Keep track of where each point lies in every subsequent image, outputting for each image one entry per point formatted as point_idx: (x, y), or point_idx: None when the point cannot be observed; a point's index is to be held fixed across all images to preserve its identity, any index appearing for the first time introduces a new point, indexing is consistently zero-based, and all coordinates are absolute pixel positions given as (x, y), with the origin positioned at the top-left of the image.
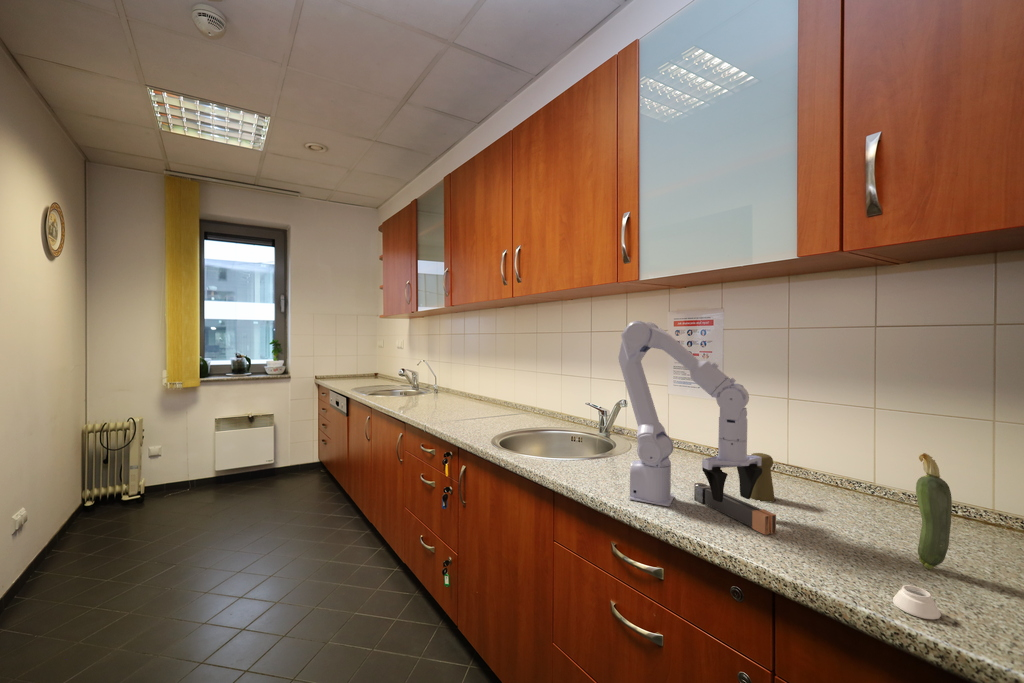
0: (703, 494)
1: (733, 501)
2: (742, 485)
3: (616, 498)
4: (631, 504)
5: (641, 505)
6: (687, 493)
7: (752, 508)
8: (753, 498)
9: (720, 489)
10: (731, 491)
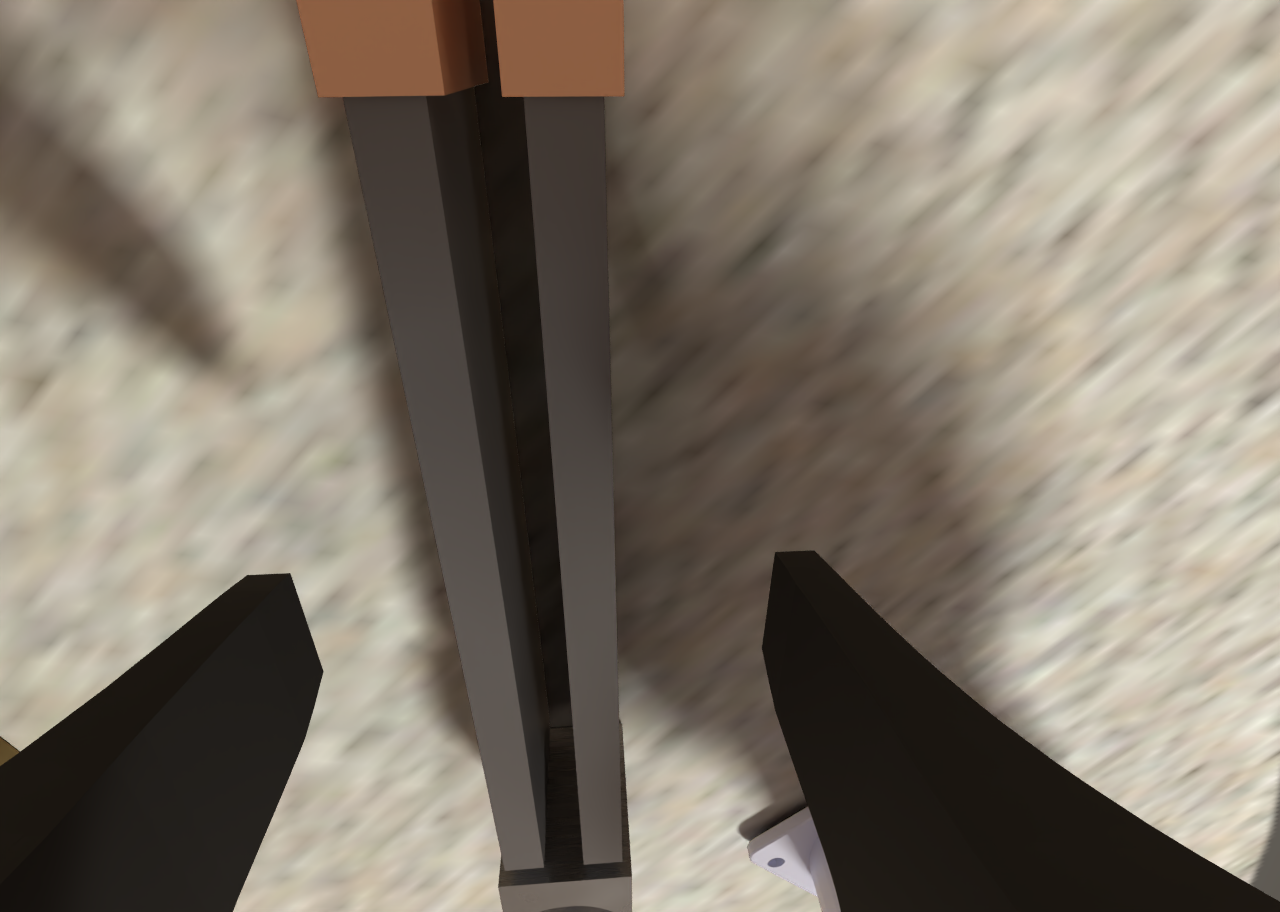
0: None
1: (595, 537)
2: (237, 816)
3: None
4: (1161, 777)
5: (1114, 758)
6: None
7: (457, 276)
8: (5, 756)
9: (946, 682)
10: None
